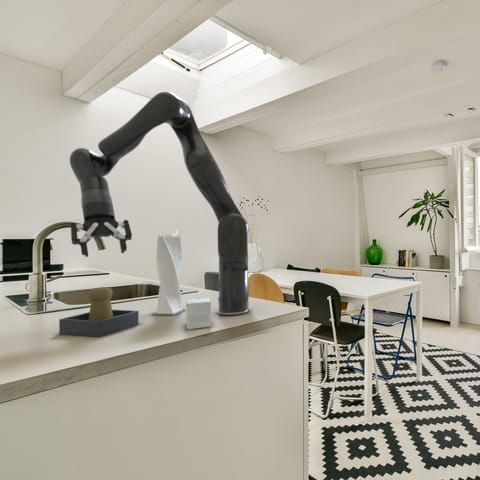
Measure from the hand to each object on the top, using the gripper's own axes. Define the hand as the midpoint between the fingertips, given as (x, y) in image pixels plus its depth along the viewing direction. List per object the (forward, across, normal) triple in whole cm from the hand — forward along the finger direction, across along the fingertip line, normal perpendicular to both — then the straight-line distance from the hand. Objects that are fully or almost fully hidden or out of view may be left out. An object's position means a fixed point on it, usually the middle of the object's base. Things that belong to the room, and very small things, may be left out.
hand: (105, 253), depth 98 cm
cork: (+21, -3, +3) cm, 21 cm away
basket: (+21, -4, +3) cm, 22 cm away
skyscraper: (+19, +15, +12) cm, 27 cm away
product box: (+30, +18, -8) cm, 35 cm away
